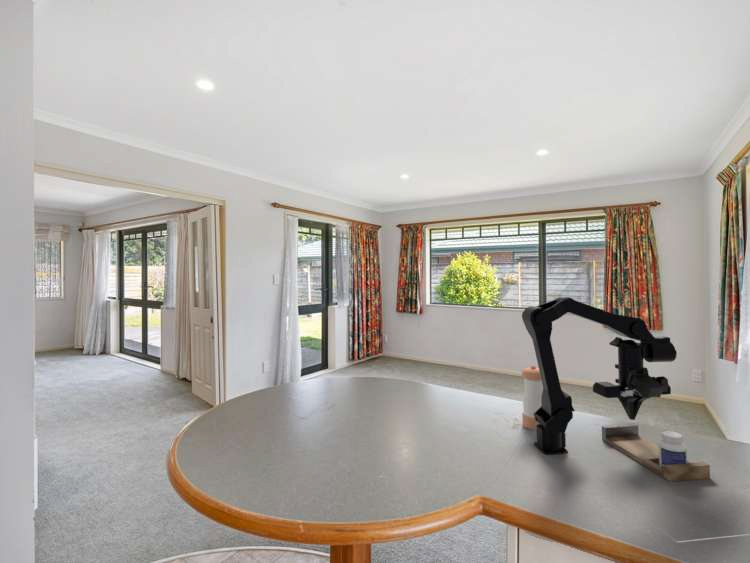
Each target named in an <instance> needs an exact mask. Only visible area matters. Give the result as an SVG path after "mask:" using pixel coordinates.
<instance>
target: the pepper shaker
mask: <svg viewBox="0 0 750 563" xmlns="http://www.w3.org/2000/svg"><path fill="white" fill-rule="evenodd" d="M521 376H522V378H523V379H524V380H523V381H524V384H523V385H524V393H523V400H522V401H523V402H522V407H523V408H522V409H523V412H522V413H521V414H522V417H521V419H522V420H521V421H522V426H523V427H525V428H526V429H530V430H536V425H539V423H538V422H537V421H536V420H535V417H534V415H533V414H534V413H535V412H536V411H537V410H538V409H539V408H540V407H541V406H542V402H541V396H542V392H543V385H542V380H541V376H540V371H539V367H537V366H536V365H533V364H532V365H531V366H529V367H525V368H523V370H521Z"/></svg>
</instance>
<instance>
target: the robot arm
mask: <svg viewBox="0 0 750 563" xmlns="http://www.w3.org/2000/svg"><path fill="white" fill-rule="evenodd" d="M566 314H571V315H574V316H577V317H579V318H582V319H585V320H587V321H588V320H589V321H591V322H592V323H593V322H594V323H596V324H599V325H601V326H603V327H605V329H606V328H607V329H608V331H609V330H610V331H611V332H612V333H615V334H616V335H619V336H622V337H623V338H624V337H625V338H629V339H622V337H618V336H616V337H615V338H614V339H613V340H611V341H610V342H609V343H608V344H609V345H610V346H612V347H615V348H616V347H617V359H618V360H617V361H618V363H615V364H614V368H615V369H618V378H615V379H614V380H615V382H614V383H616V384H614V383H612V382H608V381H597V382H596V381H595V382H594V383H593V385H592V393H595V394H597V395H600V396H601V397H603V398H606V399H613V398H614V399H616V398H617V399H618V401H619V402H620V404H621V406H622V407H623V410H624V411H625V413H626V416H627V417H628V419H629V420H631V421H633V420H636V417H637V416H638V413H639V410H640V408H641V406H642V404H643V402H644V401H646V400H648V399H651V398H661V396H662V395H671V394H672V390H671V389H672V388H671V386H670V385H669V379H668V378H667V377H666V376H664V375H663V376H657V377H656V376H651V375H649V370H648V367H645V366H644V361H646V362H647V363H673V362H674V361H675V360H676V359H677V355H678V353H677V349H676V347H675V346H674V344H673V343H672V342H671V338H670V337H669V336H657V337H655V336H654V335H653V334H652V333H651V331H650V329H648V328H647V326H648V325H647V324H646V321H645V320H643V319H642V318H640V317H635V316H634V317H633V316H628V315H621V314H616V313H611V312H609V311H607V310H603V309H600V308H598V307H595V306H593V305H589V304H586V303H584V302H581V301H577V300H575V299H573V298H572V297H570V296H569V297H568V296H559V297H557V298H555V299H553V300H550V301H547V302H544V303H542V304H539V305H537V306H535V305H534V306H531V305H530V306H527V307H526V308H525V309H524V310H523V312H522V314H521V318H522V322H523V324H524V326H525V328H526V331H527V333H528V334H529V336H530V338H531V340H532V343H533V347H534V352H535V357H536V361H537V366H538V367H537V368H539V371H540V376H541V380H542V385H543V392H542V396H541V402H542V406H541V407H540V408H539V409H538V410H537V411H536V412H535V413H534V414H533V415H534V417H535V420H536V421H537V422H538V423H539V425H536V429H535V430H536V442H533V445H534V446H535V447H536V448H538V450H540V451H541V452H542V453H543V454H544V455H555V454H567V453H569V450H568V449H567V448H566V445H567V444H566V442H567V440H566V437H567V436H566V432H567V427H568V425H569V423H570V422H571V420H572V419H573V417H574V412H575V411H576V409H574V406H573V399H572V396H571V395H570V394H568V393H567V392H565V391H564V390H563V389H562V387H561V382H560V379H559V378H560V377H559V373H558V369H557V365H556V360H555V355H554V351H553V347H552V346H553V345H552V341H551V335H552V331H553V322H555V321H557V320H559V319H560V318H562V317H563V316H565V315H566ZM636 341H639V342H636Z"/></svg>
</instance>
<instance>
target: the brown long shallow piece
mask: <svg viewBox="0 0 750 563" xmlns="http://www.w3.org/2000/svg"><path fill="white" fill-rule="evenodd" d="M639 433H640V432H639V425H638V424H636V423H625V424H622V423H621V424H608V425H602V426H601V440H602V441H603V442H605V443H606V444H608V445H610V446H612V447H613V448H615V449H616V450H618V451H620V452H621V453H623V454H624V455H626V456H628V457H629V458H631V459H632V460H634V461H636V462H637V463H639V464H641V465H642V466H644V467H645V468H647V469H649V470H650V471H652V472H654V473H656V474H657V475H659V476H661V477H662V478H663V479H665V480H667V481H668V482H678V481H679V482H680V481H689V480H690V481H691V480H700V479H701V480H703V479H710V478H711V472H710V471H711V470H710V466H711V465H710V464H709V463H708V462H707V463H706V462H705V461H699V462H690V461H688V460H687V463H685V464H673V465H664V468H662V467H660V466H659V444H656V443H654V442H652V441H651V440H648V439H646V438H645V437H643V436H641V435H639Z"/></svg>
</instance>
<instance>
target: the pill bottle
mask: <svg viewBox="0 0 750 563" xmlns="http://www.w3.org/2000/svg"><path fill="white" fill-rule="evenodd" d="M661 439H662V440H659V442H658V446H659V463H658V465H659V466H660V467H662V468H664V465H673V464H685V463H687V461H688V460H687V457H688V456H687V447H686V445H685V444H683V442H684V440H683V435H682V434H681V433H678V432H675V431H672V430H671V431H669V430H663V431H662V432H661Z"/></svg>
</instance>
